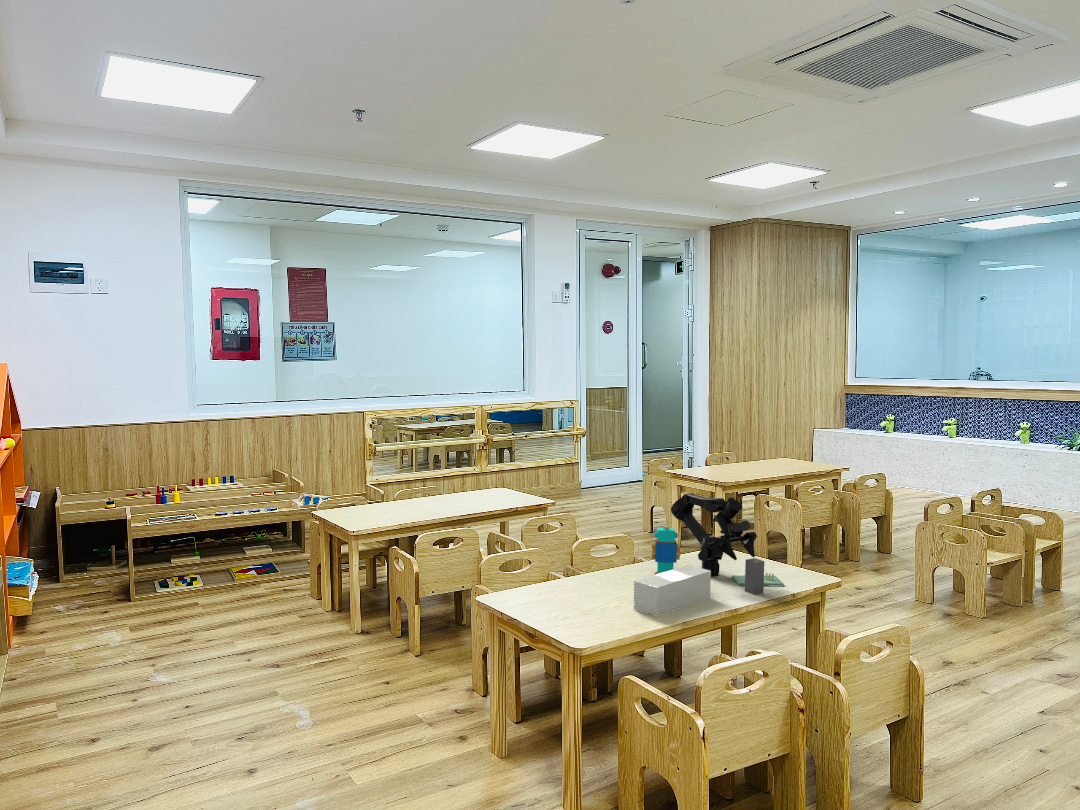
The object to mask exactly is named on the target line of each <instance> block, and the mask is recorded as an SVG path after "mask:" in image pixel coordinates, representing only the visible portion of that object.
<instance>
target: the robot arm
mask: <svg viewBox="0 0 1080 810" xmlns="http://www.w3.org/2000/svg"><path fill="white" fill-rule="evenodd" d="M695 506H697V507H701V508H703V509H705V511H706V512H708V513H710V514H714V515H713V519H712V522H713V523H717V524H718V526H719V528H720V534H723V535H718V536H710V535H709V534H708V532H707V531H706V530H705V529H704V527H703V526H702V525H701V524H700V523H699V521H698V520H697V519H696V518H695V515H693V511H694V510H693V509H694V508H695ZM742 509H743V505H742V502H740V501H738V499H735V498H734V496H733V497H728V499H727V500H725V499H724V498H723V497H706V496H702V495H698V494H695V493H692V492H690V493H684V494H683V495H682V496H681V497H680V498H679V499H677V500H676V501H675V502H674V503H673V504H672V505H671V507H670V513H671V515H672V516H674V518H676V519H677V520H678V521H680V522H683V523H684V524H685V525H686V527H687V528H688V530H689V531H690V532H691V534H692V535H693V536H694V537H695V538H696V540H697V541H698V542H699V543H700V551H699V552H698V554H697V559H698V560H699V561H701V568H702V569H706V570H710V571H711V573H710V574H711V577H719V576H720V563H719V561H721V560H722V559H723V555H724V554H726V555H727V556H728V557H730V558H731V559H732V560H734V561H737V560H738V558H737V555H736V553H735V551H734V549H733V547H732V544H733V543H739V542H741V544H742V546H743V548H744V549H745V550H746V552H747V553H748V554H749V556H751V557H752V559H753V558H755V557H756V555H755V547H754V546H755V545H754V542H755V541H756V539H757V538H758V534H757V533H756V532H755V531H749V529H750V528H751V524H750V522H749V520H743V521H741V522H738V523H737V522H734V521H733V519H735V518H736V517H737V516H738V515H739V514H740V512H741V511H742ZM745 531H747V532H745ZM744 532H745V533H744ZM743 534H744V535H743Z"/></svg>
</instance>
